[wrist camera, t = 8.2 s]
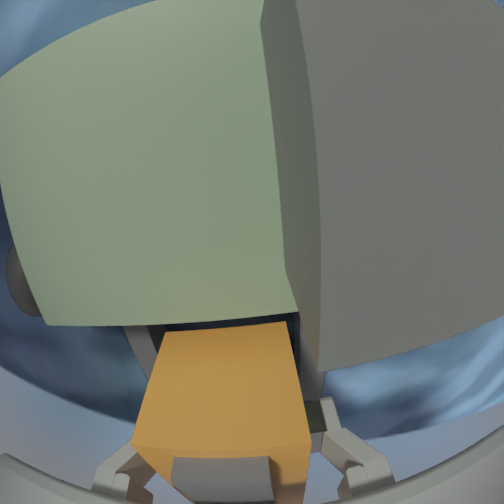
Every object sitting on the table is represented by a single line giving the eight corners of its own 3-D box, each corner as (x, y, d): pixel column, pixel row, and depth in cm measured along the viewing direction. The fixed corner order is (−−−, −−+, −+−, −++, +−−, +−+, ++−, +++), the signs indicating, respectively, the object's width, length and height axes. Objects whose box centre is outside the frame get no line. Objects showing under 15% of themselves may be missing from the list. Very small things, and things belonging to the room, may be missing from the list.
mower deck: (115, 385, 15) (80, 483, 8) (28, 92, 8) (-94, 93, 1) (446, 341, 15) (503, 419, 8) (469, 57, 8) (578, 47, 1)
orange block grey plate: (205, 428, 12) (198, 522, 7) (165, 331, 10) (123, 468, 4) (290, 422, 12) (304, 518, 7) (285, 321, 10) (316, 469, 4)
